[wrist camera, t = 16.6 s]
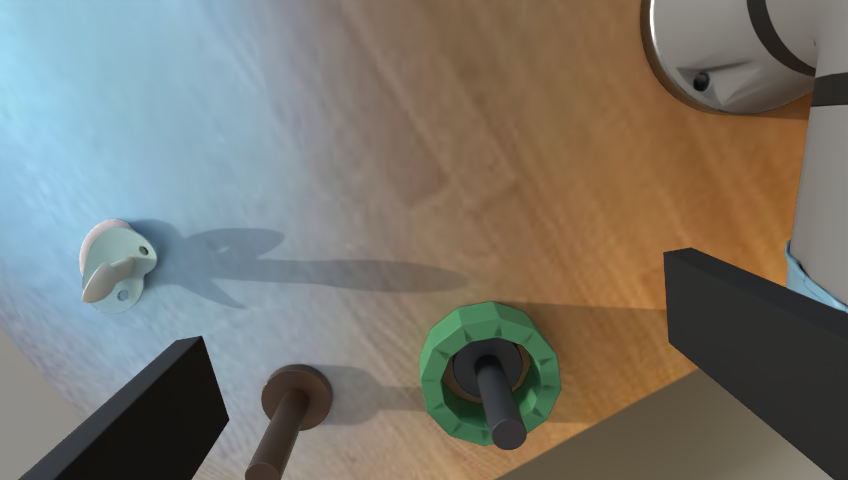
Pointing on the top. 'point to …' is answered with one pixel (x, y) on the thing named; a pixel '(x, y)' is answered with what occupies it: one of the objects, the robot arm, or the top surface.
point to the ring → (479, 325)
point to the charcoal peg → (493, 386)
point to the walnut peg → (288, 416)
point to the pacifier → (114, 265)
